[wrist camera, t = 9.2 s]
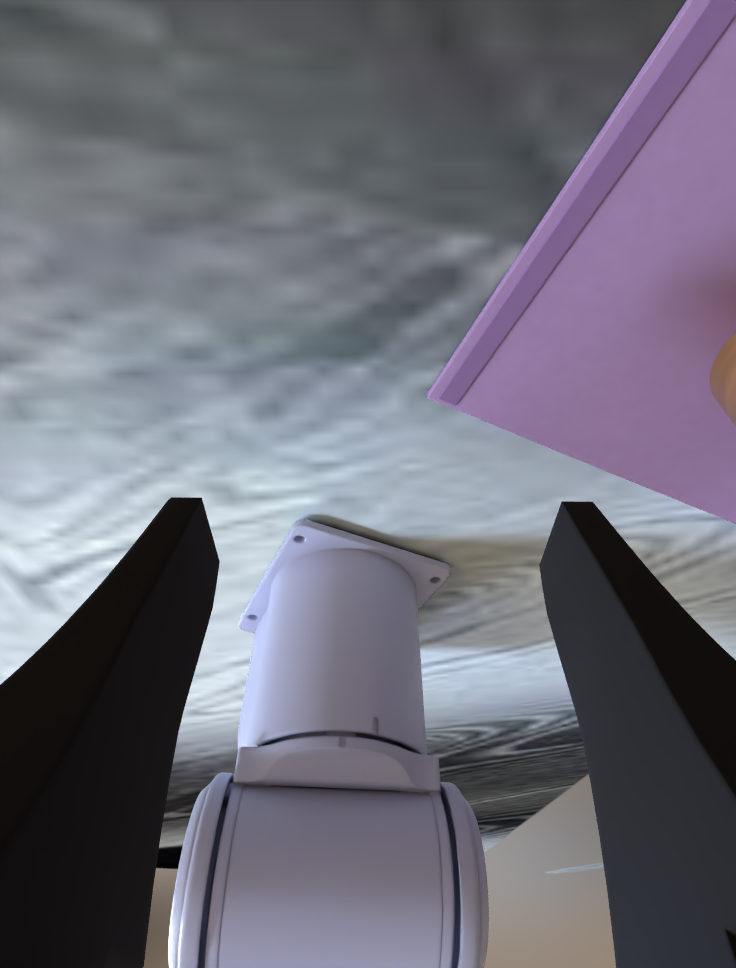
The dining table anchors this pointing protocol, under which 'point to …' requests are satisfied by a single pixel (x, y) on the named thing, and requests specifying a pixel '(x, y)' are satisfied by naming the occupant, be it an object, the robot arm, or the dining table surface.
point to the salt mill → (725, 378)
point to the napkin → (628, 286)
